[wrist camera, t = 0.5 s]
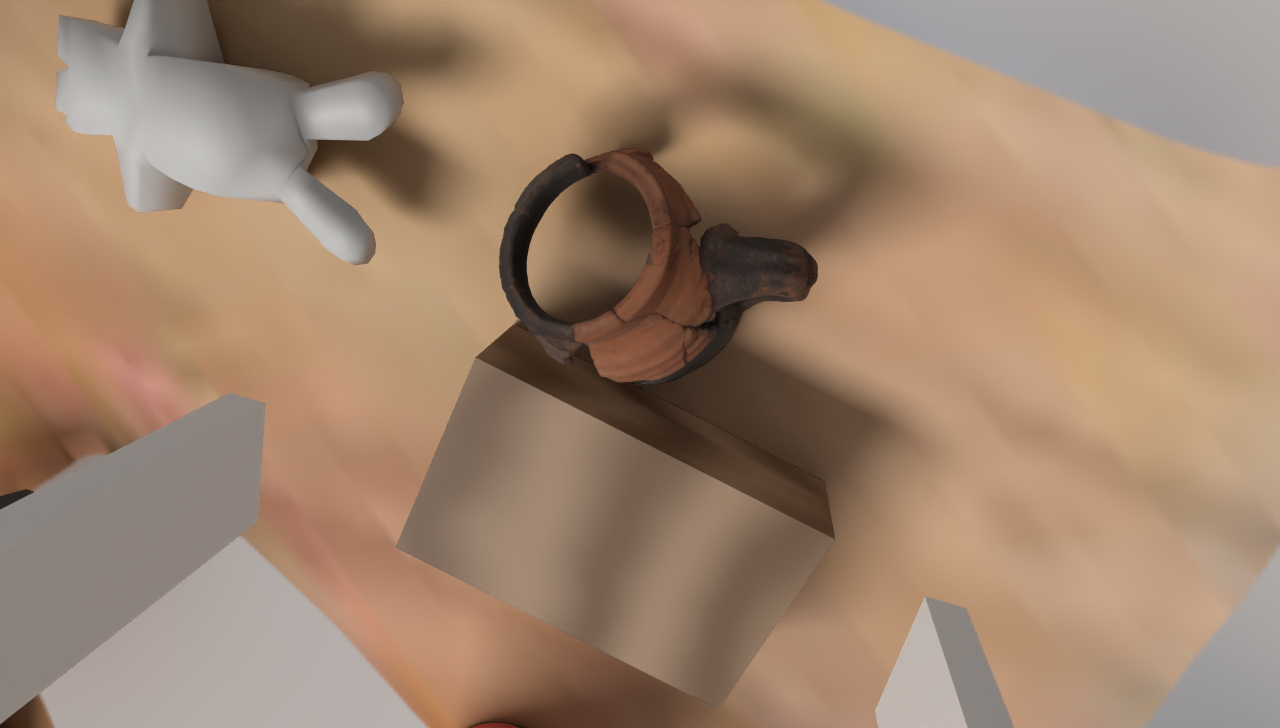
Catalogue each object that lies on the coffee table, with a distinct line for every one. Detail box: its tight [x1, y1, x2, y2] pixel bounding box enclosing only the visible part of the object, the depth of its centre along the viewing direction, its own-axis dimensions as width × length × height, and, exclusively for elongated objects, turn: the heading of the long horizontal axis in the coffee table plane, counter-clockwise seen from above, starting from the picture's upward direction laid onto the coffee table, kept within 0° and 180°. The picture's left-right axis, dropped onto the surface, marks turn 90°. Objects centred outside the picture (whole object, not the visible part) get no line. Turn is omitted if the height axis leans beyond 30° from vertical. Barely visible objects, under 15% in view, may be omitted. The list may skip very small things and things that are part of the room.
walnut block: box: [396, 324, 835, 709], centre depth 34 cm, size 16×10×5 cm, turn 65°
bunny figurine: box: [56, 0, 404, 265], centre depth 31 cm, size 10×5×15 cm
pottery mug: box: [499, 149, 818, 385], centre depth 30 cm, size 12×9×8 cm
